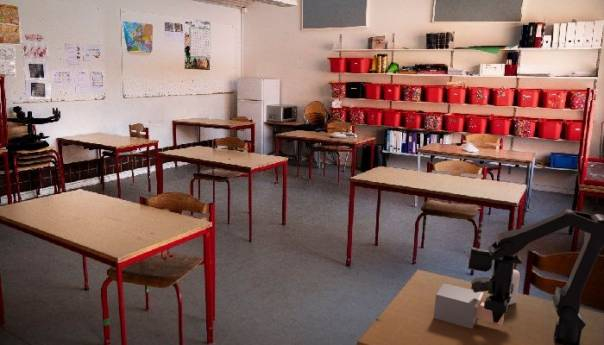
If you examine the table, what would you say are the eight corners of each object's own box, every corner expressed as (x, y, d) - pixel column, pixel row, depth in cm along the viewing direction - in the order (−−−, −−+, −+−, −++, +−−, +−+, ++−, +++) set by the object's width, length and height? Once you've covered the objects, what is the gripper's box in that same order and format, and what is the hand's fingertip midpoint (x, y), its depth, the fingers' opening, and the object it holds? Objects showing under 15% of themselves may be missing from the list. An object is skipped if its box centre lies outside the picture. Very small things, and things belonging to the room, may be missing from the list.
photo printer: (507, 297, 177) (511, 264, 174) (518, 302, 173) (523, 269, 171) (488, 304, 171) (493, 270, 169) (499, 309, 168) (504, 275, 165)
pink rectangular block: (503, 322, 156) (505, 308, 155) (502, 325, 154) (504, 311, 153) (451, 308, 163) (452, 294, 162) (449, 311, 161) (451, 297, 160)
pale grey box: (480, 316, 163) (483, 292, 161) (474, 329, 154) (478, 305, 152) (441, 305, 169) (443, 283, 167) (433, 318, 160) (436, 294, 158)
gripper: (480, 258, 164) (474, 302, 167) (469, 278, 148) (463, 326, 151) (517, 266, 159) (510, 311, 162) (509, 287, 143) (502, 337, 146)
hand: (496, 320), depth 156 cm, fingers closed on pink rectangular block, 2 cm apart
